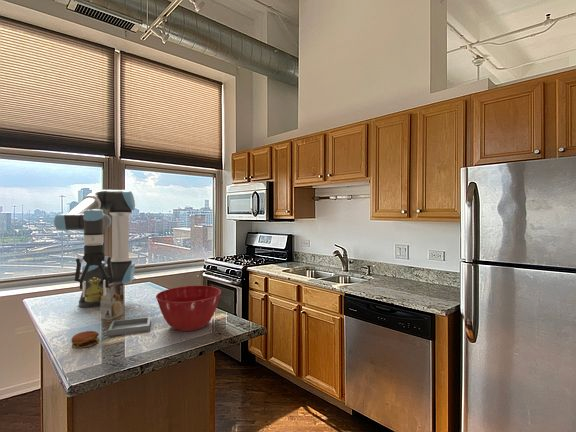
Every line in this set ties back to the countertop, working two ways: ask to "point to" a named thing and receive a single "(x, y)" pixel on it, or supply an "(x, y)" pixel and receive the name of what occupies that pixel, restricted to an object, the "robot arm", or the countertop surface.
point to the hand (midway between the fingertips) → (94, 295)
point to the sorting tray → (129, 326)
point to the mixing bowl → (188, 306)
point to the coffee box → (113, 301)
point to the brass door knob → (94, 291)
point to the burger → (85, 339)
